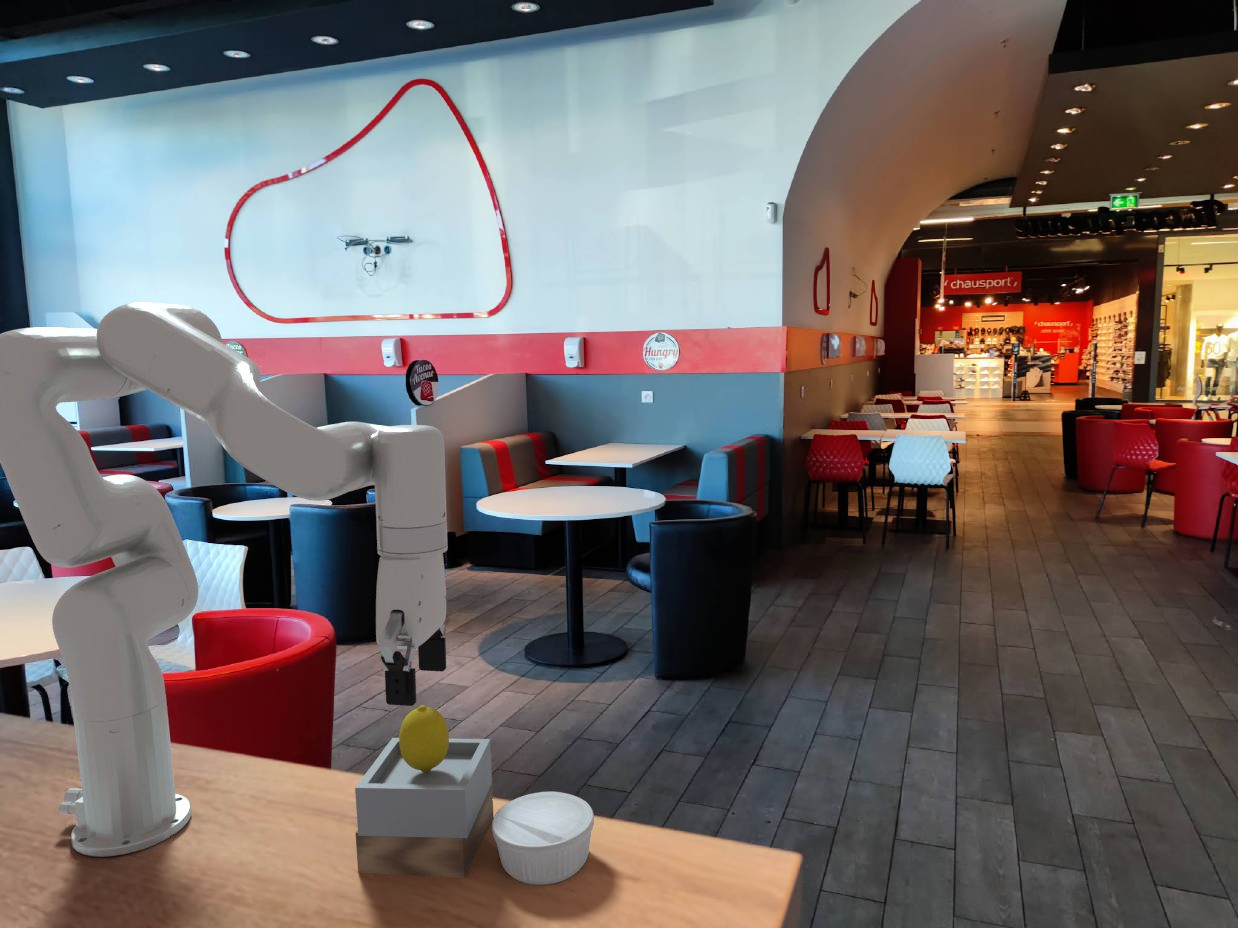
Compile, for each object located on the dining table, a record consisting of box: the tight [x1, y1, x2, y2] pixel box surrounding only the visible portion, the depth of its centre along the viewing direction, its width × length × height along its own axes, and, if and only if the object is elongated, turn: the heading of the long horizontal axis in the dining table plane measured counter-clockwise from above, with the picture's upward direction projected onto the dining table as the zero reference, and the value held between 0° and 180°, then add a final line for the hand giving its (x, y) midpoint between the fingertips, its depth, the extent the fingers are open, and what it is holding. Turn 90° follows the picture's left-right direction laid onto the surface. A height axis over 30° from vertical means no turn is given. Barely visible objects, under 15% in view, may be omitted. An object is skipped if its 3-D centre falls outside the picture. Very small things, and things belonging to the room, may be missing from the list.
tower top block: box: [354, 737, 493, 838], centre depth 98 cm, size 12×12×6 cm
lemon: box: [398, 704, 450, 773], centre depth 98 cm, size 6×6×8 cm
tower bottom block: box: [355, 783, 495, 879], centre depth 99 cm, size 12×12×5 cm
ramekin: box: [491, 791, 595, 886], centre depth 95 cm, size 11×11×5 cm
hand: (417, 686), depth 97 cm, fingers open, 9 cm apart
